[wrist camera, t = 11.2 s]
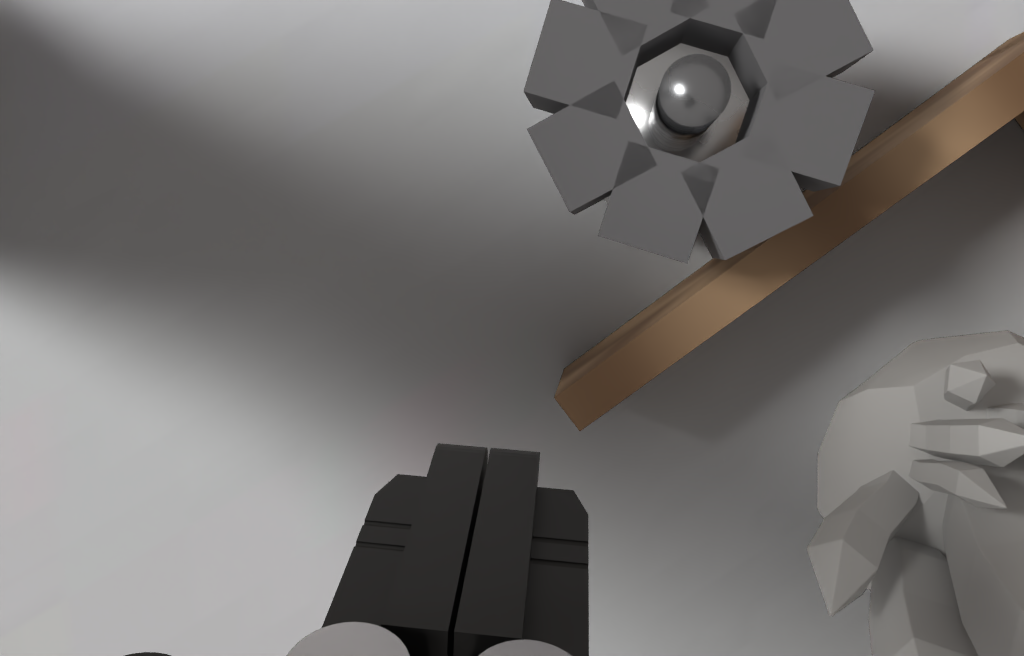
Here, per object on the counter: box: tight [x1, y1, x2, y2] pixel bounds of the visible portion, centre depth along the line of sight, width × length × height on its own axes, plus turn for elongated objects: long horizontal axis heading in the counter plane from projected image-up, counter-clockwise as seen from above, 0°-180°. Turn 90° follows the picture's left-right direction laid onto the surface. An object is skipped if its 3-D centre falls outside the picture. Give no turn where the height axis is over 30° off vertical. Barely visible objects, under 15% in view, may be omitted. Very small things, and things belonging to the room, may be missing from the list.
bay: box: [554, 32, 1024, 431], centre depth 24 cm, size 17×20×5 cm
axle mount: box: [603, 43, 750, 204], centre depth 22 cm, size 6×6×8 cm
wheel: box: [524, 0, 875, 263], centre depth 20 cm, size 8×8×2 cm
